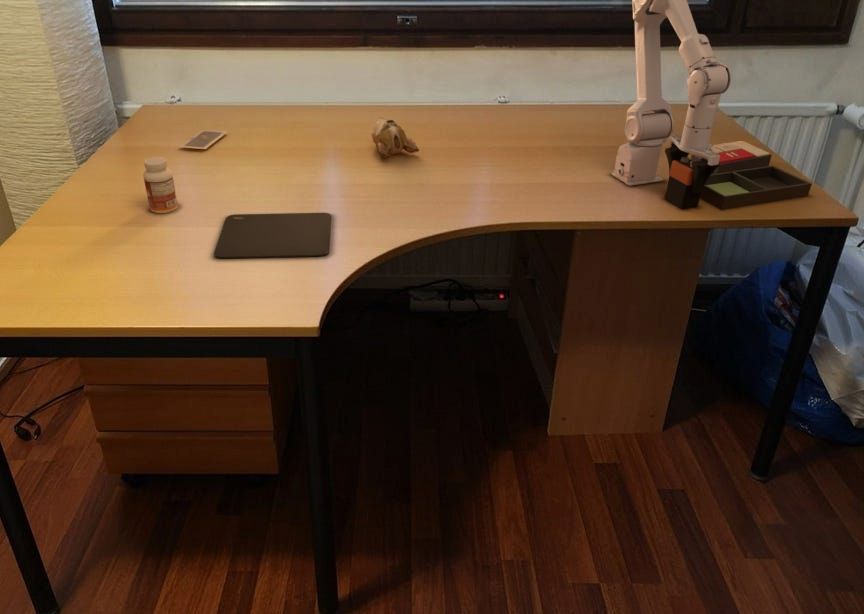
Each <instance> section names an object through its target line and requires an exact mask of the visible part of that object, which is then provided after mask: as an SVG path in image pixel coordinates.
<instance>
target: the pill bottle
mask: <svg viewBox="0 0 864 614" xmlns="http://www.w3.org/2000/svg"><path fill="white" fill-rule="evenodd" d="M143 164H144V168H145V171H144V172H143V181H144V186H145V191H146V197H147V202H148V207H149V210H150V211H151V212H153V213H156V214H167V213H170V212H173V211H175V210H176V209H177V208H178V199H177V193H176V187H175V186H176V185H175V181H174V175H173V172H172V170H171V169H170V168H168V160H167V159H166V158H165V157H161V156H155V157H154V156H153V157H150V158H147V159H145V160H144V162H143Z"/></svg>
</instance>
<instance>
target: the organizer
mask: <svg viewBox="0 0 864 614" xmlns="http://www.w3.org/2000/svg"><path fill="white" fill-rule="evenodd" d="M812 185H813V183H812V182H809V181H808V180H805V179H803V178H801V177H800V176H796V175H794V174H793V173H791V172H788V171H786V170H784V169H781V168H780V167H777V166H775V165H769V166H766V167H759V168H752V169H745V170H738V171H732V172H725V173H718V174H713V173H712V174H711V175H710V177H709V178H708V180H707V181H706V183H705V185H704V187H703V189H702V191H701V195H700V199H702V200H704V201H706V202H708V203H709V204H711V205H713V206H714V207H716V208H718V209H719V210H721V211H722V210H727V209H734V208H740V207H746V206H753V205H760V204H766V203H772V202H778V201H784V200H791V199H792V200H793V199H797V198H803V197H809V194H810V191H811V188H812Z"/></svg>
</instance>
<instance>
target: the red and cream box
mask: <svg viewBox="0 0 864 614" xmlns="http://www.w3.org/2000/svg"><path fill="white" fill-rule="evenodd" d="M711 149H712V150H713V151H714V152H715V153H716V154H718V155H720V159H719V167H718V168H717V169H716V170H715V171H714V172H713V173H712V174H718V173H725V172H732V171H738V170H745V169H752V168H759V167H766V166H770V163H771V159H772V154H771V153H770V152H768V151H766V150H764V149H761V148H760V147H757V146H755V145H753V144H750V143H749V142H746V141H744V140H739V141H738V140H737V141H732V142H723V143H718V144H712V146H711ZM690 160H692V161H701V159H700V158H698V157H696V156H694V155H692V154H691V157H690Z"/></svg>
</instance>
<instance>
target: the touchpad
mask: <svg viewBox="0 0 864 614" xmlns="http://www.w3.org/2000/svg"><path fill="white" fill-rule="evenodd" d="M228 132H229V130H218V129H217V130H216V129H204V128H203V129H201V130H200V131H198V132H197V133H195V134H194V135H193V136H191V137H190V138H189V139H187V140H186V141H184V142H183V143H182V144H180V145H179V146H178V148H184V149H185V148H187V149H200V150H206V149H208V148H210V146H212V145H213V144H214V143H216V142H217V141H218V140H219V139H220V138H222V137H223V136H225V135H226V134H227V133H228Z"/></svg>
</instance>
